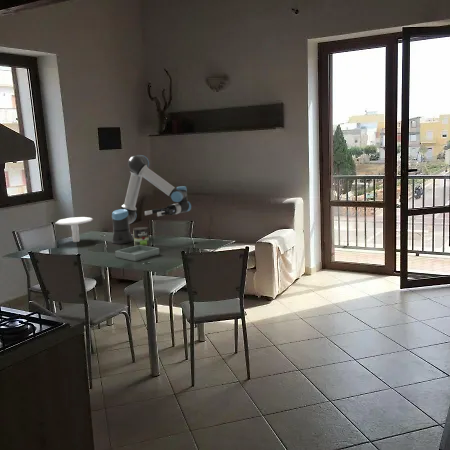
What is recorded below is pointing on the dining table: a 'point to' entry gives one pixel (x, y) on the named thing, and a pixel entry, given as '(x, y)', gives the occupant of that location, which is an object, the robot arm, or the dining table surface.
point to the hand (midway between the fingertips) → (151, 213)
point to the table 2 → (74, 225)
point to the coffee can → (141, 236)
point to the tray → (137, 252)
